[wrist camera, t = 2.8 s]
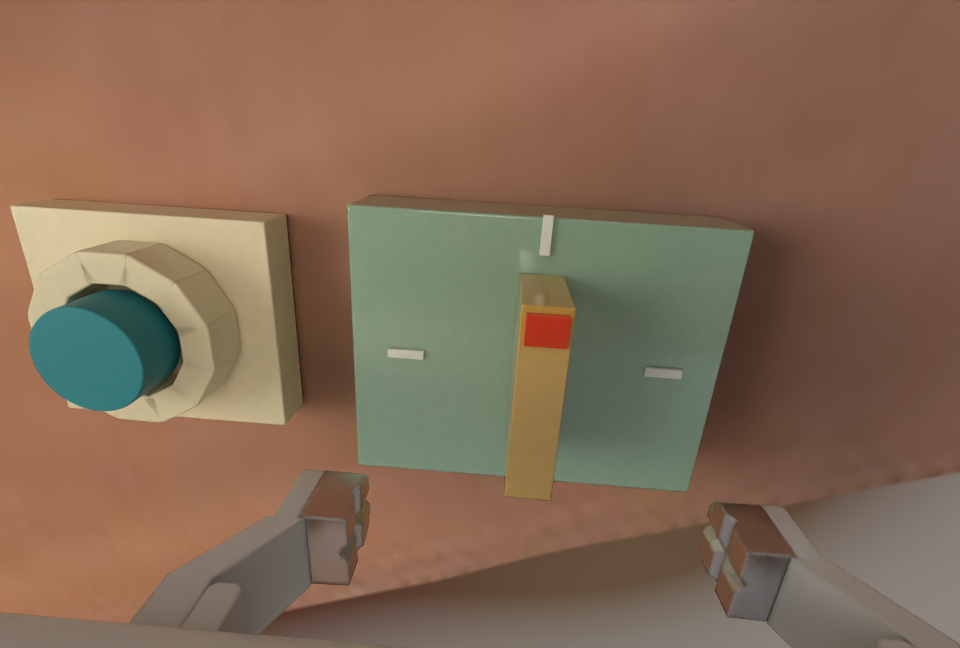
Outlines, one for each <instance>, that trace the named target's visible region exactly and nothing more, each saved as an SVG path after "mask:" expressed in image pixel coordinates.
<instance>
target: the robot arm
mask: <svg viewBox="0 0 960 648" xmlns="http://www.w3.org/2000/svg"><path fill="white" fill-rule="evenodd" d="M368 490H369V480H368V476H367V475H365V474H355V473H345V472H335V471H323V470H312V469H305V470H304V471H302V472H301V473H300V475H299V477H298V478H297V480H296V481H295V483H294V485H293V486H292V488H291V490H290V491H289V493H288V495H287V496H286V498H285V499H284V501H283V503H282V504H281V506H280V508H279V509H278V511H277V512H276V514H275V516H267V517H265V518H263V519H262V520H260V521H258V522H257V523H255V524H253V525H251V526H250V527H248V528H246V529H245V530H243V531H241V532H239V533H238V534H236V535H234V536H233V537H231V538H229V539H228V540H226V541H224V542H222V543H221V544H219V545H217V546H216V547H214V548H212V549H211V550H209V551H207V552H205V553H204V554H202V555H200V556H199V557H197V558H195V559H193V560H192V561H190V562H188V563H187V564H185V565H183V566H182V567H180V568H178V569H176V570H175V571H173V572H171V573H170V574H168V575H166V576H165V578H164V579H163V580H162V582H161V583H160V584H159V585H158V587H157V588H156V589H155V591H154V592H153V593H152V594H151V596H150V597H149V598H148V600H147V601H146V602H145V603H144V605H143V606H142V607H141V609H140V610H139V611H138V612H137V614H136V615H135V616H134V618H133V619H132V620H131V621H130V623H129V624H128V623H117V622H105V621H94V620H82V619H71V618H59V617H48V616H37V615H25V614H14V613H2V612H0V648H404V647H392V646H381V645H369V644H357V643H346V642H333V641H323V640H311V639H300V638H288V637H277V636H265V635H258V634H259V633H260V632H261V631H262V630H264V629H265V628H266V627H267V626H268V625H269V624H270V623H271V622H272V621H273V620H274V619H275V618H276V617H278V616H279V615H280V614H281V613H282V612H283V611H284V610H285V609H286V608H287V607H288V606H290V605H291V604H292V603H293V602H294V601H295V600H296V599H297V598H298V597H299V596H300V595H301V594H303V593H304V592H305V591H306V590H307V589H308V588H309V587H310V586H311V583H313V584H331V585H349V584H350V581H351V578H352V576H353V573H354V570H355V567H356V564H357V562H358V555H357V550H358V549H359V548H360V547H362V546H363V544H364V541H365V538H366V535H367V530H368V525H369V516H370V504H369V503H368V501H367V500H366V499H365V498H366V496H367V493H368ZM707 516H708V518H709V520H710V522H711V524H710V525H709V526H708V527H706V528H705V529H704V530H703V531H702V536H701V540H700V554H701V558H702V562H703V565H704V567H705V570H706V572H707V574H708V575H710V576H711V577H712V578H713V579H715V580H716V581H717V585H716V589H715V592H716V594H717V596H718V598H719V600H720V602H721V604H722V607H723V609H724V611H725V613H726V615H727V617H730V618H739V619H748V620H758V621H766V622H767V624H768V625H769V626H770V627H771V628H772V629H773V630H774V631H775V632H776V633H777V634H778V635H779V636H780V637H781V638H782V639H783V640H784V641H785V642H786V643H788V644H789V645H790V646H791V647H792V648H960V644H959V643H958V642H956V641H954V640H953V639H951V638H950V637H948V636H947V635H945V634H944V633H942V632H941V631H939V630H937V629H936V628H934V627H933V626H931V625H929V624H928V623H927V622H925V621H923V620H921V619H920V618H919V617H917V616H915V615H914V614H912V613H911V612H909V611H908V610H906V609H905V608H903V607H902V606H900V605H898V604H897V603H895V602H894V601H892V600H891V599H889V598H888V597H886V596H884V595H883V594H881V593H880V592H878V591H877V590H875V589H874V588H872V587H870V586H869V585H867V584H866V583H864V582H862V581H861V580H859V579H858V578H856V577H855V576H853V575H851V574H850V573H849V572H847V571H845V570H844V569H842V568H841V567H839V566H838V565H836V564H835V563H833V562H831V561H827V560H823V559H822V558H821V556H820V555H819V554H818V553H817V551H816V550H815V548H814V547H813V546H812V545H811V543H810V542H809V541H808V539H807V538H806V536H805V535H804V534H803V533H802V531H801V530H800V529H799V528H798V526H797V525H796V523H795V522H794V521H793V519H792V518H791V517H790V516H789V514H788V513H787V511H786V510H785V509H784V508H782V507H781V506H778V505H760V504H757V505H751V504H737V503H723V502H713V503H712V504H711V505H710V507H709V510H708V513H707Z"/></svg>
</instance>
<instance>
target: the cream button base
mask: <svg viewBox="0 0 960 648" xmlns="http://www.w3.org/2000/svg"><path fill="white" fill-rule="evenodd" d="M11 211H12V214H13V218H14V221H15V225H16V228H17V231H18V235H19V238H20V242H21V245H22V249H23V252H24V256H25V259H26V262H27V266H28V269H29V273H30V276H31V280H32V283H33V287H34V293H33V297H32V300H31V303H30V306H29V310H28V314H27V315H28V318H29V322H30V325H31V328H32V327H33V325H34V324H35V322H36V321H37V320H38V319H39V318H40V316H41V315H43V314H44V313H46V312H47V311H50V310H52V309H54V308H57V307H59V306H62V305H65V304H67V303H70V302H72V301H75V300H77V299H80V298H83V297H85V296H88V295H90V294H93V293H96V292H99V291H102V290H108V289H118V290H125V291H129V292H132V293H135V294H138V295H140V296H142V297H144V298H146V299H147V300H149V301H150V302H152V303H153V304H154V305H156V306H157V307H158V308H159V309H160V310H161V311H162V312H163V313H164V314H165V315H166V317H167V318H168V319H169V321H170V322H171V323H172V325H173V327H174V329H175V331H176V334H177V336H178V340H179V345H180V356H179V361H178V364H177V366H176V368H175V370H174V371H173V373H172V374H171V375H170V376H169V377H168V378H167V379H165V380H164V381H162V382H161V383H160V384H158V385H157V386H155V387H154V388H153V389H151V390H150V391H148V392H147V393H146V394H144V395H143V396H141V397H140V398H139V399H137V400H136V401H134V402H133V403H131V404H130V405H128V406H127V407H124V408H122V409H118V410H114V411H104V412H106V413H108V414H110V415H112V416H114V417H116V418H119V419H127V420H139V421H151V422H165V421H167V420H169V419H171V418H173V417H175V416H178V417H190V418H202V419H215V420H227V421H239V422H251V423H264V424H276V425H286V424H287V423H288V421H289V420H290V419H291V417H292V416H293V415H294V414H295V412H296V411H297V410H298V408H299V407H300V406H301V404H302V403H303V399H302V388H301V376H300V365H299V354H298V343H297V332H296V320H295V309H294V298H293V287H292V276H291V265H290V253H289V242H288V231H287V220H286V215H285V214H276V213H261V212H246V211H230V210H215V209H200V208H185V207H169V206H154V205H139V204H123V203H108V202H93V201H78V200H62V199H50V200H43V201H37V202H30V203H23V204H16V205H11ZM67 403H68V407H69V408H80V409H86V408H83V407H80V406H78V405H76V404H73V403H71V402H70V401H68V400H67Z"/></svg>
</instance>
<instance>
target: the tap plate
mask: <svg viewBox="0 0 960 648" xmlns="http://www.w3.org/2000/svg"><path fill="white" fill-rule="evenodd" d="M347 213H348V236H349V259H350V282H351V304H352V327H353V350H354V372H355V395H356V418H357V440H358V463H359V464H360V465H370V466H382V467H394V468H406V469H418V470H430V471H442V472H453V473H465V474H477V475H489V476H501V477H505V444H506V428H507V416H508V405H509V393H510V382H511V370H512V359H513V347H514V335H515V324H516V312H517V301H518V289H519V278H520V274H537V275H551V276H564V277H565V280H566V283H567V285H568V288H569V291H570V294H571V297H572V299H573V302H574V305H575V308H576V316H575V324H574V331H573V339H572V346H571V354H570V361H569V369H568V376H567V384H566V391H565V399H564V406H563V414H562V421H561V429H560V436H559V443H558V451H557V458H556V466H555V473H554V481H560V482H572V483H584V484H596V485H608V486H620V487H632V488H644V489H656V490H667V491H679V492H687V491H688V488H689V484H690V480H691V476H692V472H693V468H694V464H695V461H696V457H697V453H698V449H699V445H700V441H701V437H702V434H703V430H704V426H705V422H706V418H707V414H708V410H709V407H710V403H711V399H712V395H713V391H714V387H715V383H716V380H717V376H718V372H719V368H720V364H721V360H722V356H723V353H724V349H725V345H726V341H727V337H728V333H729V329H730V326H731V322H732V318H733V314H734V310H735V306H736V302H737V298H738V295H739V291H740V287H741V283H742V279H743V275H744V271H745V268H746V264H747V260H748V256H749V252H750V248H751V244H752V241H753V237H754V231H753V230H750V229H748V228H745V227H743V226H741V225H738V224H736V223H733V222H731V221H728V220H726V219H723V218H721V217H713V216H697V215H681V214H665V213H650V212H634V211H618V210H602V209H587V208H571V207H555V206H540V205H524V204H508V203H492V202H477V201H461V200H445V199H429V198H414V197H398V196H382V195H369V196H367V197H365V198H363V199H360V200H358V201H356V202H354V203H351V204H349V205H348V206H347Z"/></svg>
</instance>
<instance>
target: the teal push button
mask: <svg viewBox="0 0 960 648" xmlns="http://www.w3.org/2000/svg"><path fill="white" fill-rule="evenodd" d="M29 347H30V353H31V357H32V360H33V363H34V365H35V367H36V369H37V371H38V372H39V374H40V375H41V377H42V378H43V379H44V381H45V382H46V383H47V384H48V385H49V386H50V387H51V388H52V389H53V390H54V391H55V392H56V393H58V394H59V395H60V396H62V397H63V398H64V399H66V400H68V401H70V402H71V403H73V404H76V405H78V406H80V407H83V408H86V409H90V410H95V411H114V410H118V409H122V408H124V407H127V406H128V405H130V404H131V403H133V402H134V401H136V400H137V399H139V398H140V397H141V396H143V395H144V394H146V393H147V392H148V391H150V390H151V389H153V388H154V387H155V386H157V385H158V384H160V383H161V382H162V381H164V380H165V379H167V378H168V377H169V376H170V375H171V374H172V373H173V371H174V370H175V368H176V366H177V364H178V361H179V356H180V345H179V340H178V336H177V334H176V331H175V329H174V327H173V325H172V323H171V322H170V321H169V319H168V318H167V317H166V315H165V314H164V313H163V312H162V311H161V310H160V309H159V308H158V307H157V306H156V305H154V304H153V303H152V302H150V301H149V300H147V299H146V298H144V297H142V296H140V295H138V294H135V293H132V292H129V291H125V290H118V289H108V290H102V291H99V292H96V293H93V294H90V295H88V296H85V297H83V298H80V299H77V300H75V301H72V302H70V303H67V304H65V305H62V306H59V307H57V308H54V309H52V310H50V311H47V312H46V313H44V314H43V315H41V316H40V318H39V319H38V320H37V321H36V322H35V324H34V325H33V327H32V330H31V333H30V337H29Z"/></svg>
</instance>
